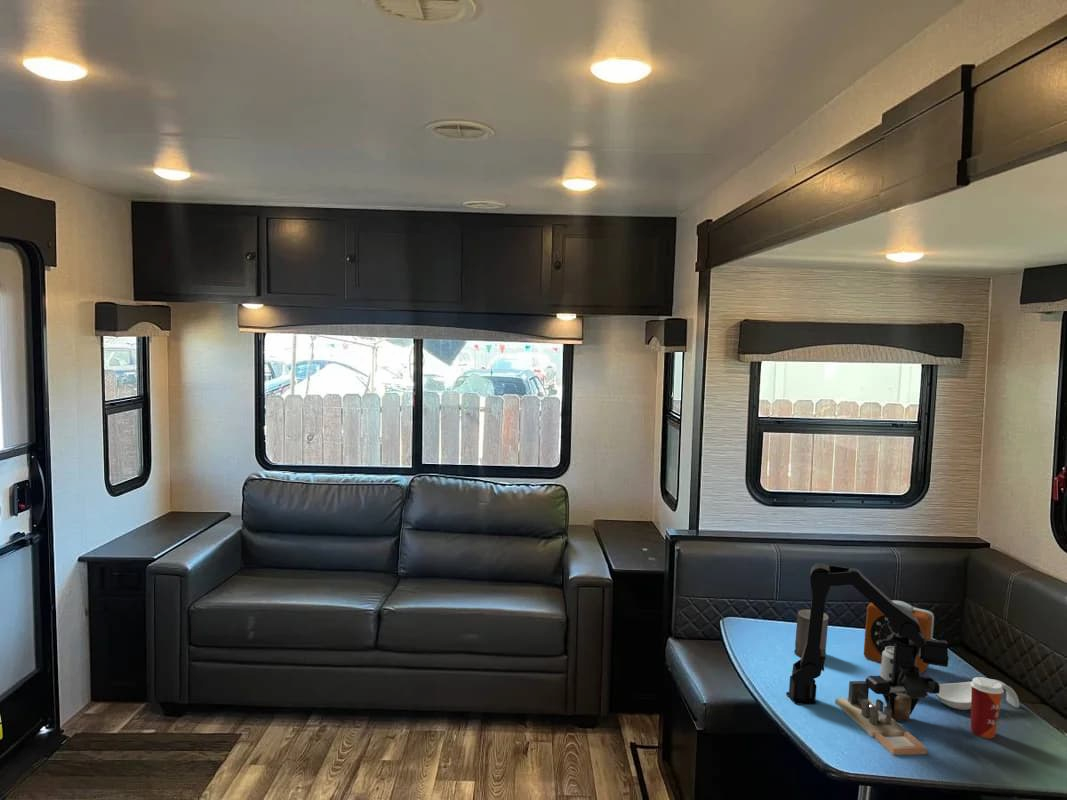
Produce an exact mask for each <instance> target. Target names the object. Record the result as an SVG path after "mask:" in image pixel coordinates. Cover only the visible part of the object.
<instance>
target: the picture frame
mask: <svg viewBox="0 0 1067 800" xmlns="http://www.w3.org/2000/svg"><path fill="white" fill-rule="evenodd" d="M875 740H876V741H877V742H878V743H879V744H880V745H881V746H883V747H884V748H885V749H886V751H888V752H889V753H890V754H891V755H892V756H901V755H902V756H903V755H904V756H905V755H907V756H909V755H927V752H928V751H927V747H926V746H925V745H924V744H923V743H922V742H921V741H920V740H918V739H917V738H916V737H915V736H914V735H912V734H911V733H910V732H909V731H907V732H904V736H883V735H881V734H880V733H876V736H875Z"/></svg>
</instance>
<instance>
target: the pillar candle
mask: <svg viewBox="0 0 1067 800" xmlns="http://www.w3.org/2000/svg"><path fill="white" fill-rule="evenodd" d="M810 611H811V609H801V610H799V611H797V616H796V617H797V618H796V628H795V629H796V631H795V641H794V642H795V643H794V648H795V649H794V651H793V652H794V654H795V655H796V656H798V657H799V658H801V656H802V653H803V650H804V647H805V644H806V642H807V637H808V628H809V620H810ZM829 619H830V618H829V615H828V614H827V613H825V612H824V615H823V624H822V633H821V642H820V647H821V649H825V650H826V651H827V642H828V641H827V638H828V627H829V626H828V625H829Z"/></svg>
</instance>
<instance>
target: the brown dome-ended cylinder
mask: <svg viewBox="0 0 1067 800" xmlns="http://www.w3.org/2000/svg"><path fill="white" fill-rule="evenodd" d="M895 693H896V692H895ZM896 694H897V695H898V696H897V697H896V698H895V703H894V713H893V715H892V719H893V720H895V721H896V722H902V723H908V722H910V718H911V717H910V716H911V715H910V709H911V700H912V699H911V697H910V696H908V695H906V694H905V693H903V692H901V693H896Z"/></svg>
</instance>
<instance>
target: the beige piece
mask: <svg viewBox="0 0 1067 800" xmlns="http://www.w3.org/2000/svg"><path fill="white" fill-rule="evenodd" d="M834 700H835V701H834V703H835V704H836V705H837V707H839V708H840V709H841V710H842V711H843V712H844V713H845V714H847V715H848V716H849V718H851V719H852V720H853V721H854V722H855V723H856V724H858V726H859V727H860V728H861V729H863V730H864V731H865V732H866V733H867V734H868V735H869V736H870V737H871V738H873V737H875V736H876V733H880V734H881V735H883V736H884V737H900V736H904V732H908V730H906V728H904V727H903V726H902V725H901V724H900V723H898V721H897V720H895V719H893V718H892V709H891V708H889V707H888V706H887V705H886V706H885V705H884V704H885V703H884V701H882V700H881V699H878V698H877V699H876V700H875V702H874V701H873V700H871V699H870V698H869V697H868V700H869V701H870V702H871V703H872V704H873V705H875V706H876V707H877V708H878V709H879V710H880V711H882V712H883V713H884V714H885V715H886V716H887V717H888V721H887V722H886V723H884V724H882V723H881V722H879V721H878V720H877V717H878V710H877V709H876V708H875V707H870V703H869V702H868V701H867V700H862V706H861V705H860V704H851V703H850V702H849V701H848V697H847V698H846V697H845V698H835V699H834ZM869 708H870V713H869Z"/></svg>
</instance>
